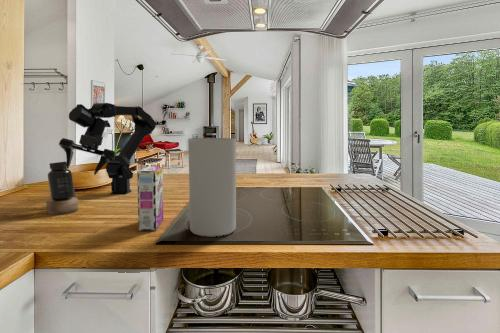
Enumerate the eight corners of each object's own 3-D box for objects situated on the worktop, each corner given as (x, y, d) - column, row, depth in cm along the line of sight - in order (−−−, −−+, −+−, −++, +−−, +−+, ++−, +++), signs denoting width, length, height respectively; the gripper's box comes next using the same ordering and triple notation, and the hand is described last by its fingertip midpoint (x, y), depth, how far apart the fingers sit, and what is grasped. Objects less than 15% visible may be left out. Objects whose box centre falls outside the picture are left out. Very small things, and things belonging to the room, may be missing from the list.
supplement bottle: (78, 195, 108) (73, 160, 107) (69, 198, 101) (64, 161, 100) (57, 197, 107) (52, 162, 106) (47, 201, 100) (41, 164, 99)
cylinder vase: (236, 237, 81) (236, 139, 78) (187, 238, 80) (185, 139, 77) (235, 222, 93) (235, 138, 90) (192, 223, 92) (191, 137, 89)
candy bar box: (157, 231, 85) (155, 171, 83) (138, 231, 85) (135, 171, 83) (164, 219, 96) (163, 166, 94) (148, 219, 96) (146, 166, 94)
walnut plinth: (82, 207, 110) (81, 196, 109) (73, 214, 101) (72, 202, 100) (53, 209, 108) (52, 197, 107) (41, 216, 99) (40, 203, 99)
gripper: (63, 118, 110) (47, 159, 105) (119, 133, 115) (106, 173, 111) (69, 128, 120) (55, 167, 115) (120, 142, 125) (108, 179, 121)
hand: (81, 171), depth 115 cm, fingers open, 9 cm apart
